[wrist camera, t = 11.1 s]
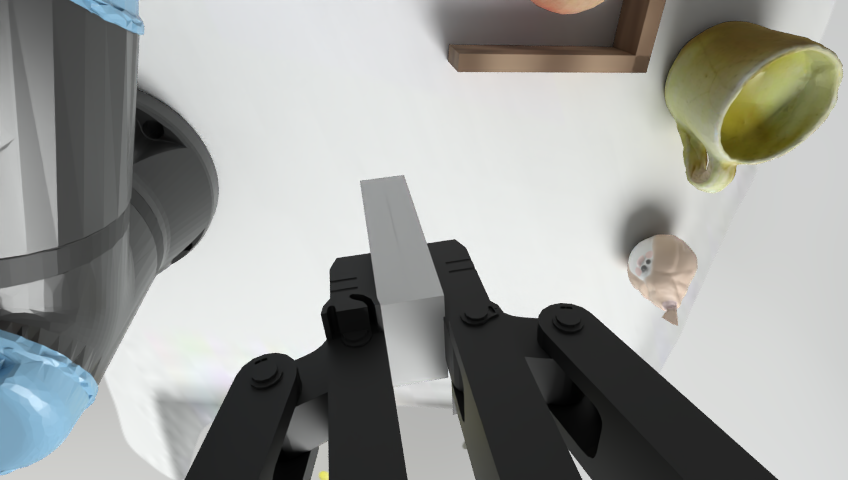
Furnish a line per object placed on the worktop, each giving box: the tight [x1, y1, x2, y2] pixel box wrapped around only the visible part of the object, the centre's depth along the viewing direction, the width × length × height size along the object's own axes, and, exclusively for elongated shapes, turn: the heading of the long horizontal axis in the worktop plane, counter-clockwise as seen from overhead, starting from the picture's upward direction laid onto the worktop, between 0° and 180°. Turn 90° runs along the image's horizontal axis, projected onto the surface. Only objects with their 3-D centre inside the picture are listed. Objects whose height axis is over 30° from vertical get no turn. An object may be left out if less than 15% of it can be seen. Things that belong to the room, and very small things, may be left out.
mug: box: [664, 21, 843, 193], centre depth 38 cm, size 12×10×10 cm
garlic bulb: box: [627, 234, 697, 326], centre depth 47 cm, size 7×6×8 cm
